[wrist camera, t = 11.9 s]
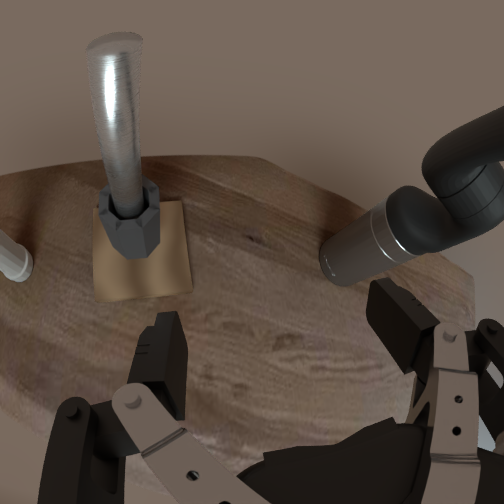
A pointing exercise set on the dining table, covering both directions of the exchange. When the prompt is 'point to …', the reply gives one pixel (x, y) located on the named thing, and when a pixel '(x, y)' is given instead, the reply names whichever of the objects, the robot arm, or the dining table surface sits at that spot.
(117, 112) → the post
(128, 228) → the collar
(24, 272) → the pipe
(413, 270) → the dining table surface
